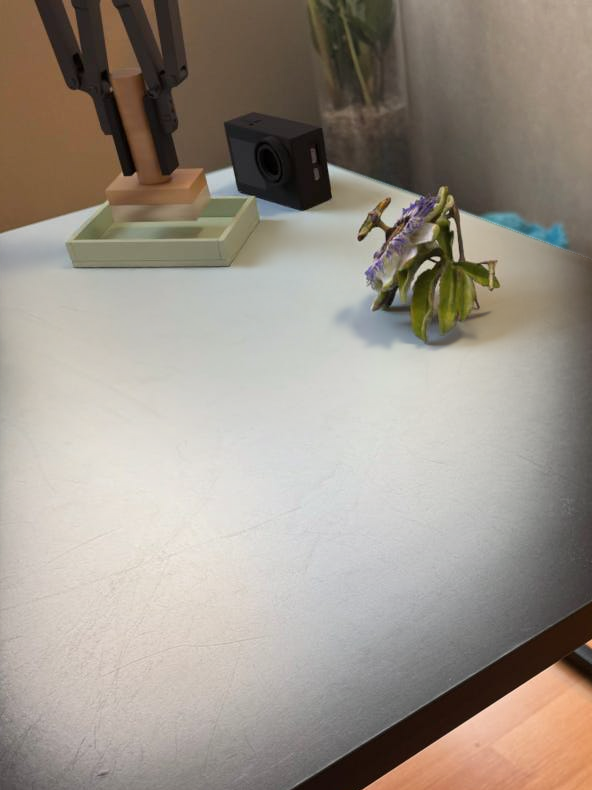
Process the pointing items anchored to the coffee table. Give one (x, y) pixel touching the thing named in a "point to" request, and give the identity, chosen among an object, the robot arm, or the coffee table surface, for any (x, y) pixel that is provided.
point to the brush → (150, 166)
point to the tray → (166, 237)
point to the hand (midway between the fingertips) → (151, 170)
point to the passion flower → (411, 249)
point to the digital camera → (279, 160)
